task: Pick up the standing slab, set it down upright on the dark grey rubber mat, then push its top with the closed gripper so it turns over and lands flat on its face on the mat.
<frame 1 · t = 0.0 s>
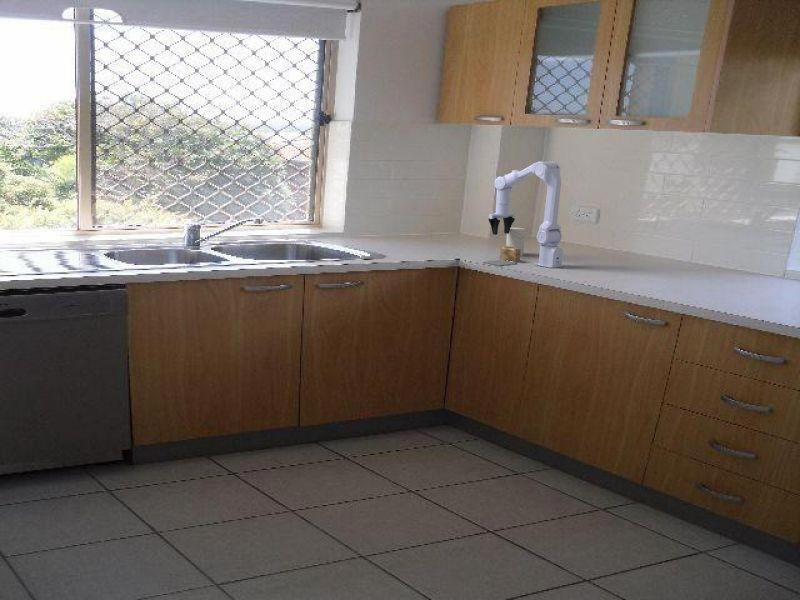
hand: (500, 234, 381), 10 cm above the worktop, fingers open, 7 cm apart
slab: (509, 260, 371), on the worktop
mat: (499, 263, 363), on the worktop
cup: (514, 255, 389), on the worktop
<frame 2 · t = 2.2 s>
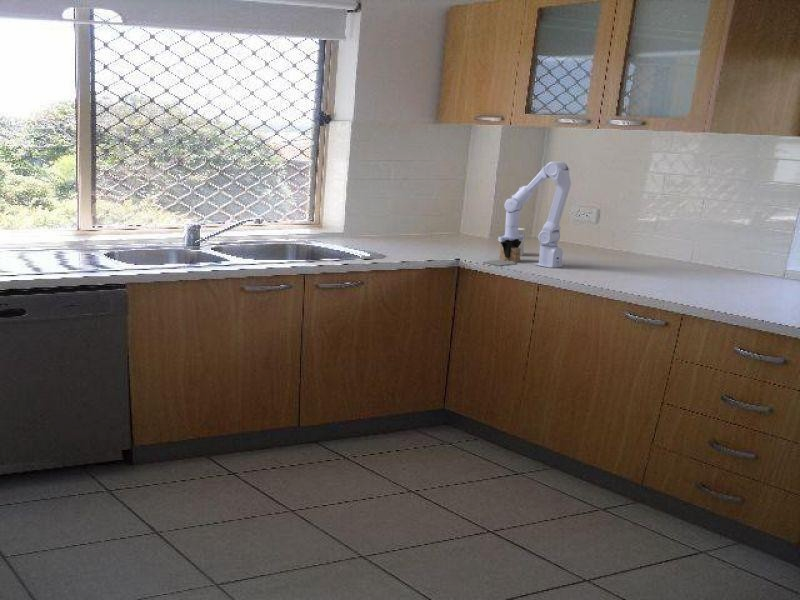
hand: (510, 257, 371), 2 cm above the worktop, fingers closed on slab, 3 cm apart
slab: (509, 260, 371), on the worktop, touching gripper
everything else where it was.
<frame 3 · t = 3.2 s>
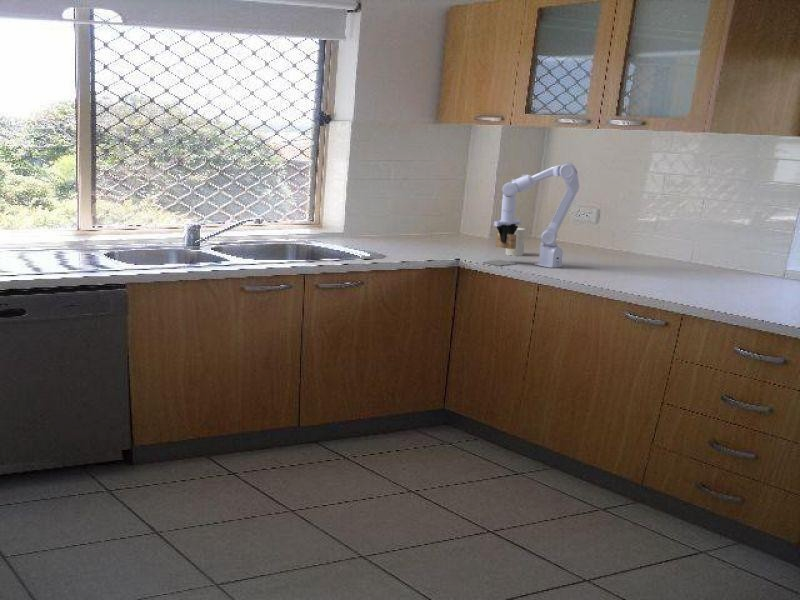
hand: (506, 242, 364), 9 cm above the worktop, fingers closed on slab, 3 cm apart
slab: (505, 247, 365), point 7 cm above the worktop, touching gripper
everything else where it was.
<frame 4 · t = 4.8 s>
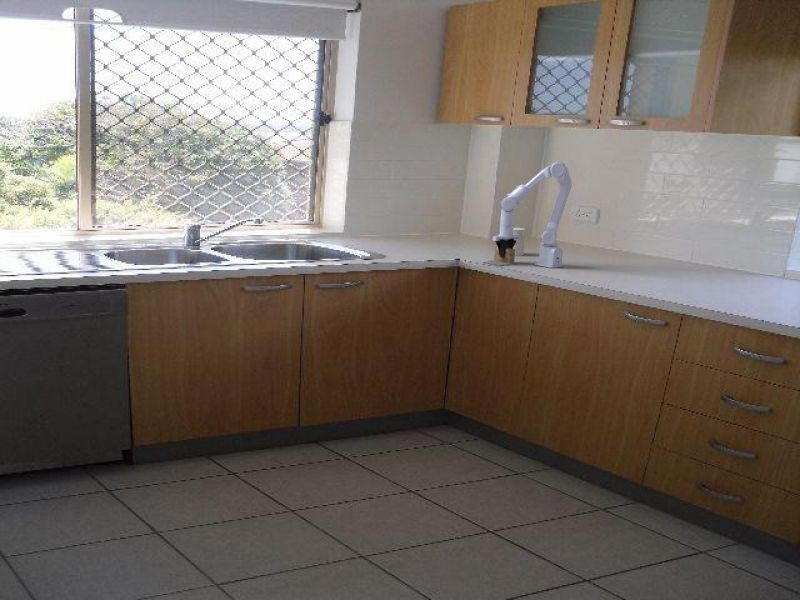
hand: (504, 256, 364), 3 cm above the worktop, fingers closed on slab, 3 cm apart
slab: (504, 261, 365), resting on mat, touching gripper
everything else where it was.
when the fingers open (3 cm above the worktop, at t = 4.8 s): slab stays where it is, resting on mat.
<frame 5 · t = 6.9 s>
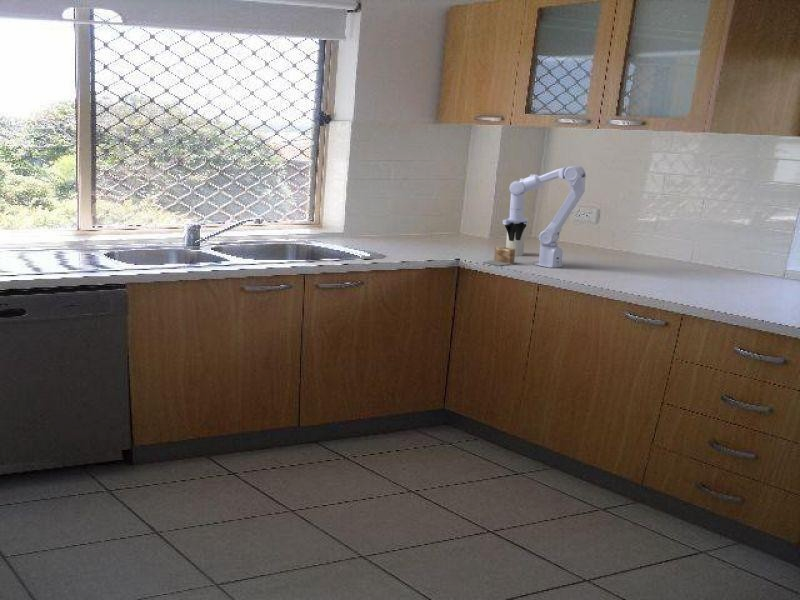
hand: (514, 240, 367), 9 cm above the worktop, fingers open, 3 cm apart
slab: (504, 261, 365), resting on mat
everything else where it was.
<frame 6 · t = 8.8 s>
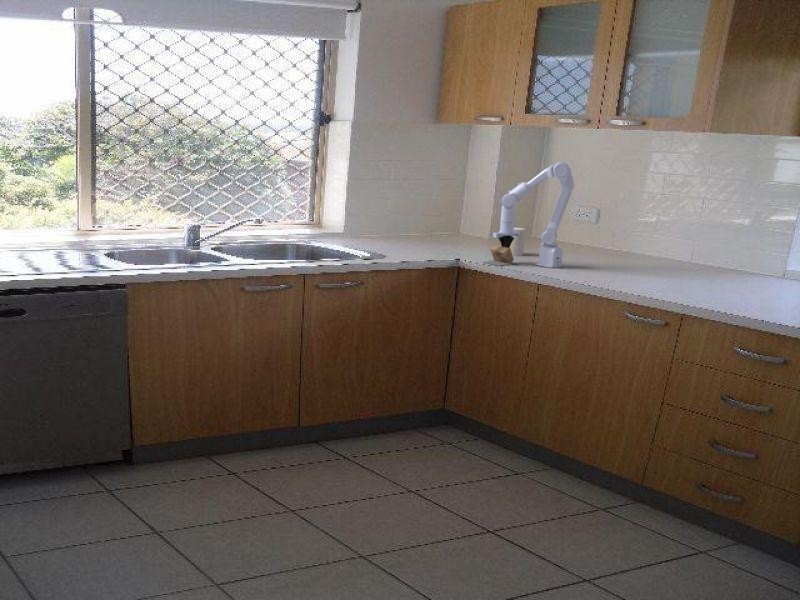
hand: (505, 253, 364), 4 cm above the worktop, fingers closed, pressing on slab
slab: (503, 260, 365), point 1 cm above the worktop, tilted 27°, touching gripper, mat
everything else where it was.
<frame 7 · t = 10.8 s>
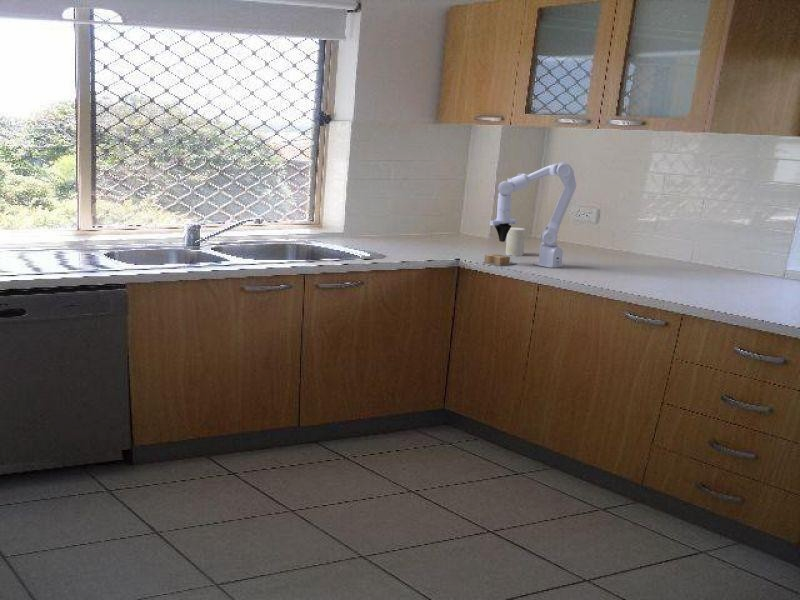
hand: (502, 241, 362), 9 cm above the worktop, fingers closed
slab: (502, 258, 364), point 2 cm above the worktop, tilted 89°, touching mat
everything else where it was.
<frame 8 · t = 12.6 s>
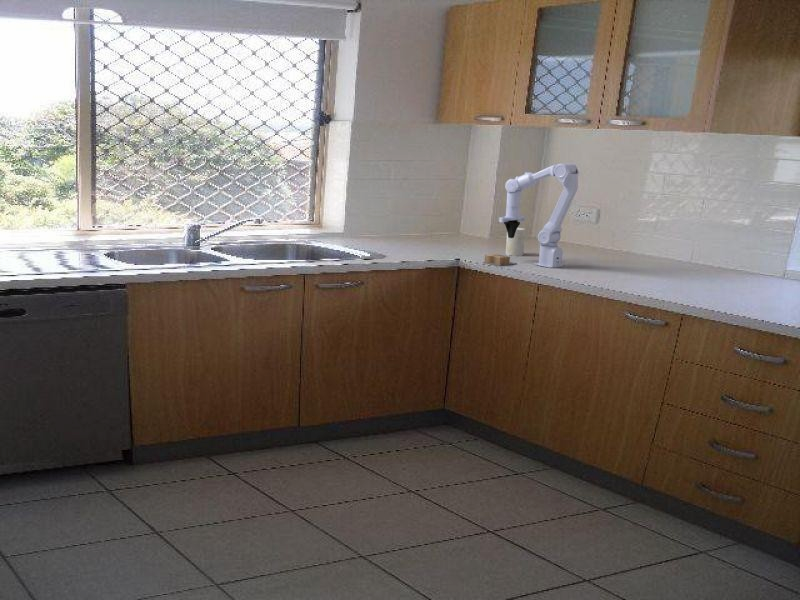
hand: (511, 237, 371), 10 cm above the worktop, fingers closed
nothing on the worktop moved.
at the end: slab tilted 89°; slab inside the target area on the mat (2.0 cm from its centre), point 1.9 cm above the mat's base; the gripper is holding nothing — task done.
